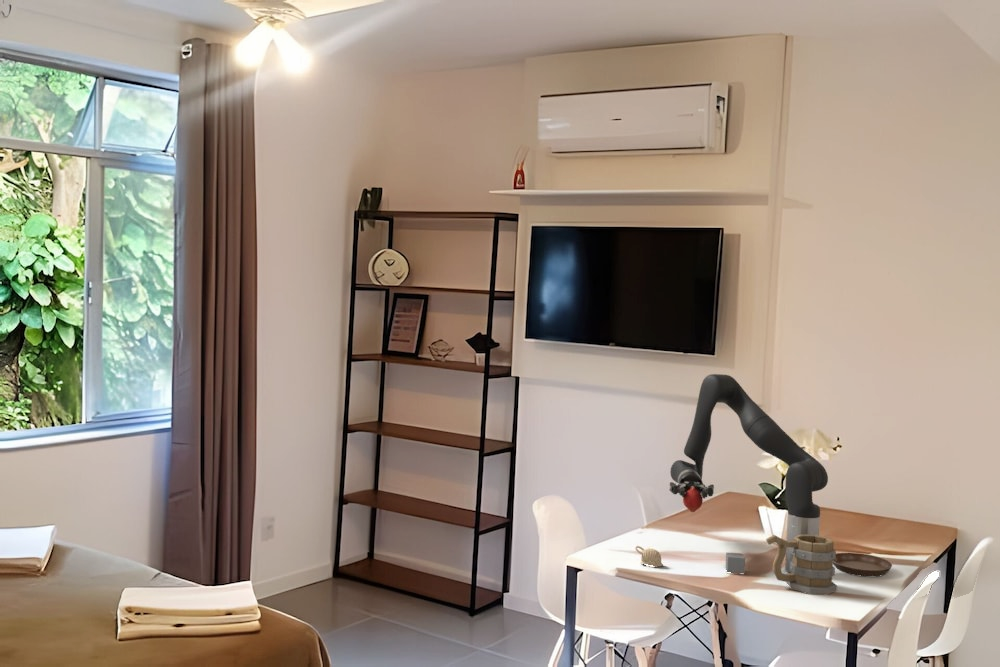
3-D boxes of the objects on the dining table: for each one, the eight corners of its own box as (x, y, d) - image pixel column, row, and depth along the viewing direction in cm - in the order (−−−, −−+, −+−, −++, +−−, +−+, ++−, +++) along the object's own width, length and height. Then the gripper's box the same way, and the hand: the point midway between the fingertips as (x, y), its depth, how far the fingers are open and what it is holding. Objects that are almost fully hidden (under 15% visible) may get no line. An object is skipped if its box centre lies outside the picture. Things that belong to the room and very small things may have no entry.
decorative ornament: (659, 569, 292) (660, 551, 292) (633, 564, 296) (634, 547, 296) (664, 566, 296) (665, 548, 295) (637, 561, 300) (638, 544, 299)
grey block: (742, 570, 294) (743, 553, 294) (744, 574, 289) (745, 558, 289) (725, 568, 295) (726, 552, 295) (727, 573, 290) (727, 557, 290)
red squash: (688, 508, 303) (689, 483, 302) (705, 511, 299) (706, 486, 299) (679, 512, 298) (680, 486, 298) (696, 515, 295) (697, 489, 294)
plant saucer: (883, 583, 286) (883, 572, 286) (822, 571, 296) (822, 561, 296) (897, 569, 301) (898, 560, 301) (839, 558, 311) (839, 549, 311)
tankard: (824, 581, 285) (827, 530, 284) (841, 595, 273) (844, 541, 272) (757, 579, 284) (759, 528, 284) (770, 593, 272) (773, 540, 271)
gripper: (667, 470, 313) (670, 480, 297) (713, 472, 312) (718, 483, 295) (666, 493, 314) (669, 505, 297) (712, 495, 312) (717, 508, 295)
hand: (694, 494), depth 296 cm, fingers closed on red squash, 5 cm apart
